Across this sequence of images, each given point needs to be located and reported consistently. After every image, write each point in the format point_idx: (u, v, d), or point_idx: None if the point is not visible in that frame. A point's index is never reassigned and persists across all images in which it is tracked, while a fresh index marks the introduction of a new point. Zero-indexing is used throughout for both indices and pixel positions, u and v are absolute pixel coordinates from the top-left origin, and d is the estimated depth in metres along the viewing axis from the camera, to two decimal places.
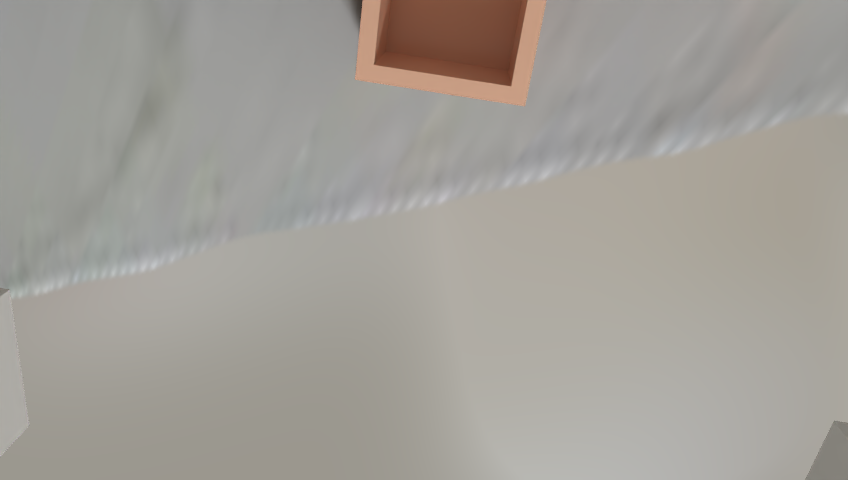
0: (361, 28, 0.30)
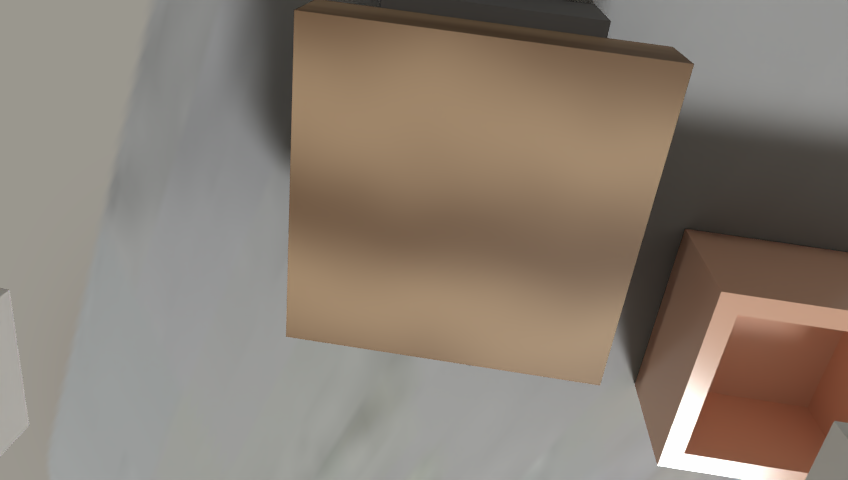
0: (676, 420, 0.25)
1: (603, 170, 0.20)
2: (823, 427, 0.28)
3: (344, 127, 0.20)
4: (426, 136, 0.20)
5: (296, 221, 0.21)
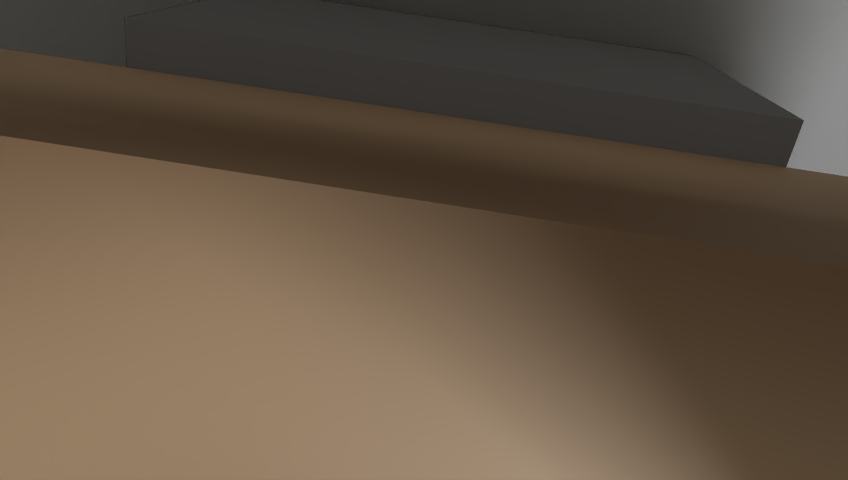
0: None
1: None
2: None
3: None
4: None
5: None
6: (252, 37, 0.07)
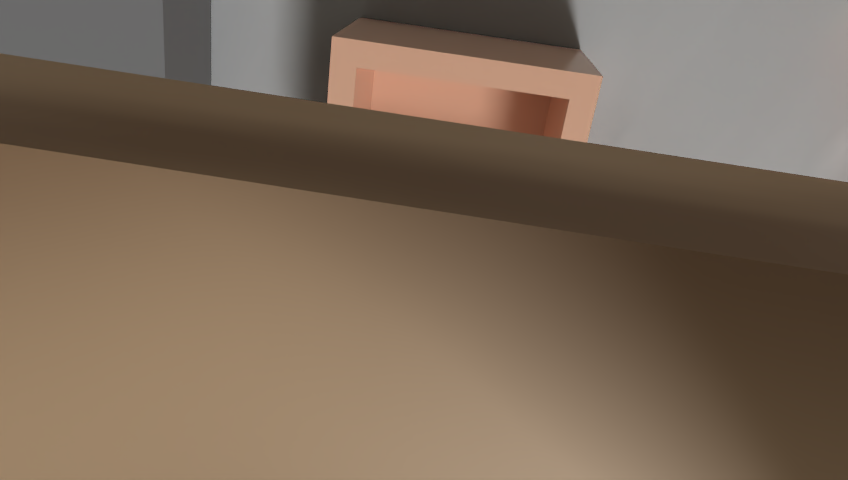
0: None
1: None
2: None
3: None
4: None
5: None
6: None
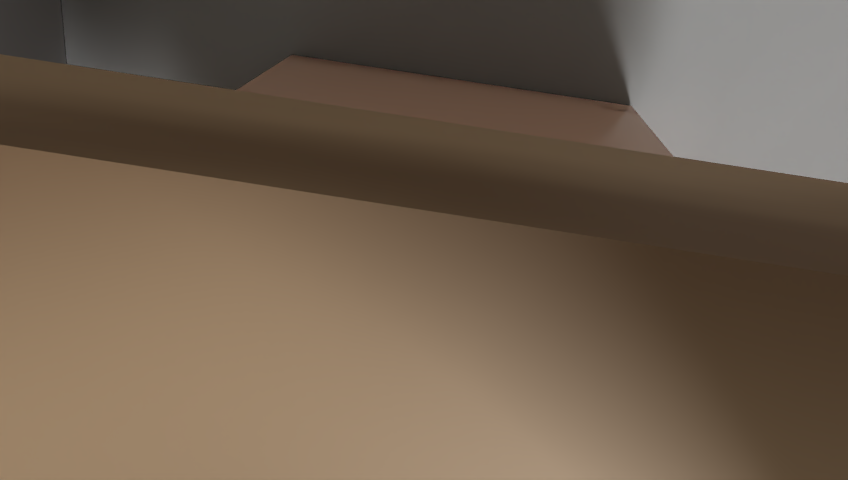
0: None
1: None
2: None
3: None
4: None
5: None
6: None
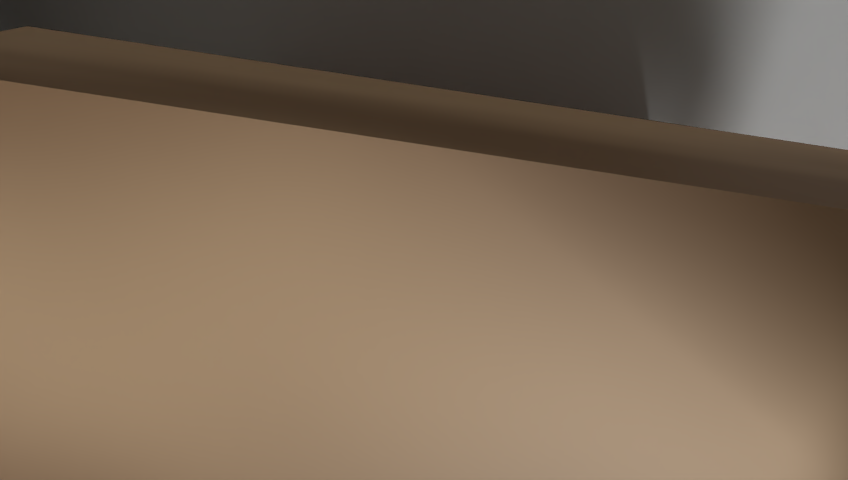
0: None
1: None
2: None
3: (58, 363, 0.07)
4: (275, 393, 0.07)
5: None
6: None
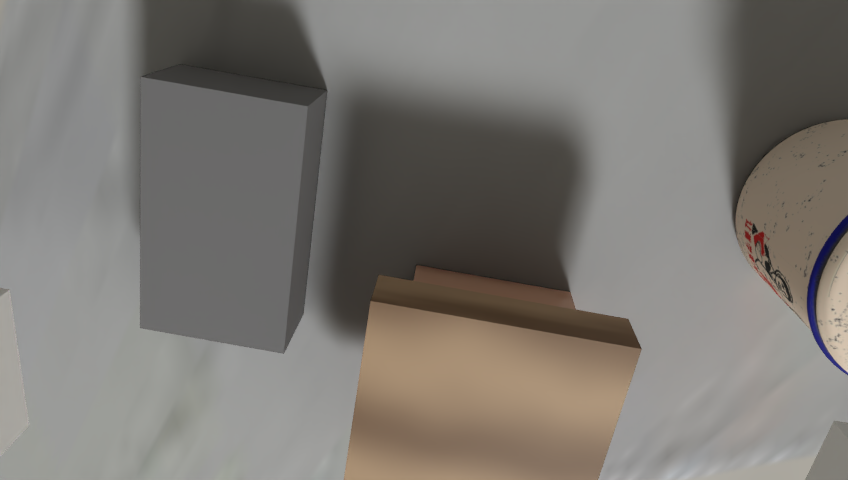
0: None
1: (579, 409, 0.28)
2: None
3: (398, 373, 0.28)
4: (456, 382, 0.28)
5: (356, 432, 0.29)
6: (172, 82, 0.28)
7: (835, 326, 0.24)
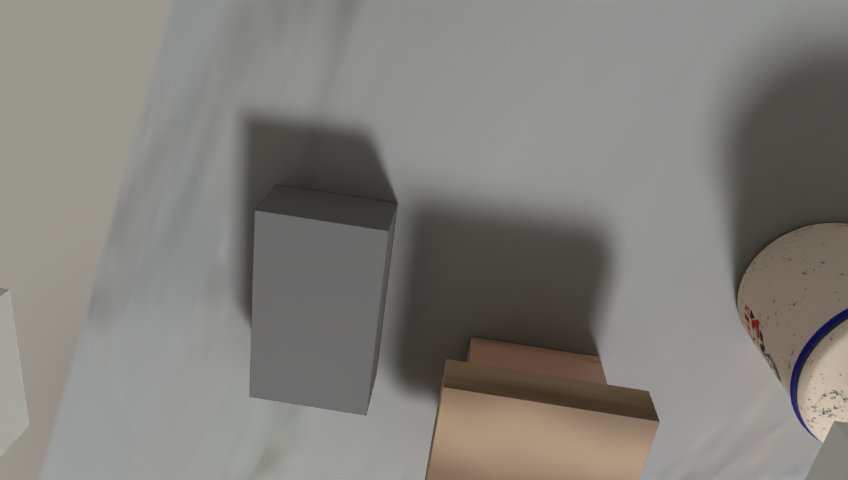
0: None
1: (610, 466, 0.35)
2: None
3: (464, 440, 0.35)
4: (511, 446, 0.35)
5: None
6: (280, 214, 0.35)
7: (811, 411, 0.31)
